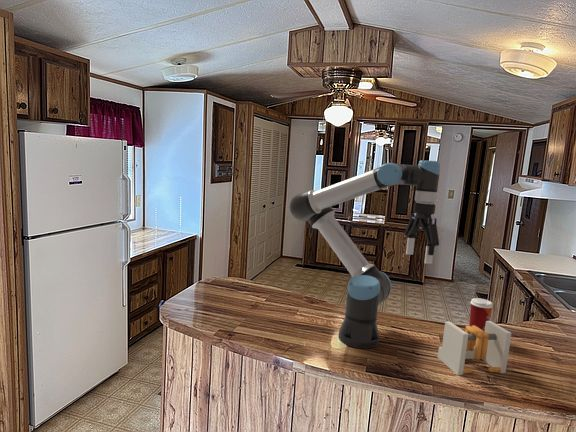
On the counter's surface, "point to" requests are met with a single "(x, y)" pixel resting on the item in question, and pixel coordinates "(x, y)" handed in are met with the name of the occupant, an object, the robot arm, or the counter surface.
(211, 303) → the counter surface
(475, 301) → the coffee cup
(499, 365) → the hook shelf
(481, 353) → the cord hank
